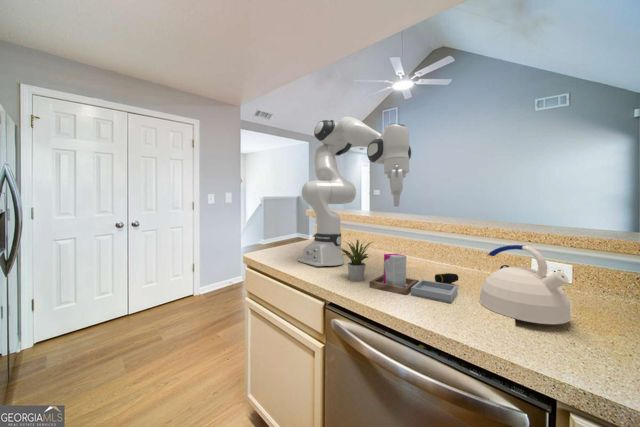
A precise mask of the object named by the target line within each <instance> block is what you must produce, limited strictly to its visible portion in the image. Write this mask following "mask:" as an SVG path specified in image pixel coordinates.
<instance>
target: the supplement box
mask: <svg viewBox="0 0 640 427" xmlns="http://www.w3.org/2000/svg"><path fill="white" fill-rule="evenodd" d="M383 274H384V279H383V282H382V283H384V284H390V285H395V286H400V287H406V286H407V284H406V278H407V255H405V254H404V255H403V254H399V253H384V254H383Z"/></svg>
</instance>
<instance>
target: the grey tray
mask: <svg viewBox="0 0 640 427" xmlns="http://www.w3.org/2000/svg"><path fill="white" fill-rule="evenodd" d="M458 289H459V288H458V285H456V284H451V283H448V284H444V283H438V282H436V281H432V280H431V281H430V280H425V279H420V280H419V282H418V283H416V284H415V285H414V286H412V287H411V292H410V296H413V297H418V298H422V299H426V300H432V301H437V302H442V303H447V304H452V302H453V301H454V300H455V298H456V296H457V294H458Z"/></svg>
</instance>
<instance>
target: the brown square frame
mask: <svg viewBox="0 0 640 427" xmlns="http://www.w3.org/2000/svg"><path fill="white" fill-rule="evenodd" d="M383 279H384V273H383V274H381V275H379V276H378V277H376V278H373V279H371V280H370V281H368V283H369V285H368V286H369V288H372V289H375V290H381V291H385V292H390V293H393V294H394V293H395V294H399V295H400V294H401V295H405V296H407V295H409V294H411V287H412V286H414V285H415V284H416V283H418V282H419V281H420V280H419V279H416V278H409V277H406V287H400V286H395V285H390V284H384V283H383Z"/></svg>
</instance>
